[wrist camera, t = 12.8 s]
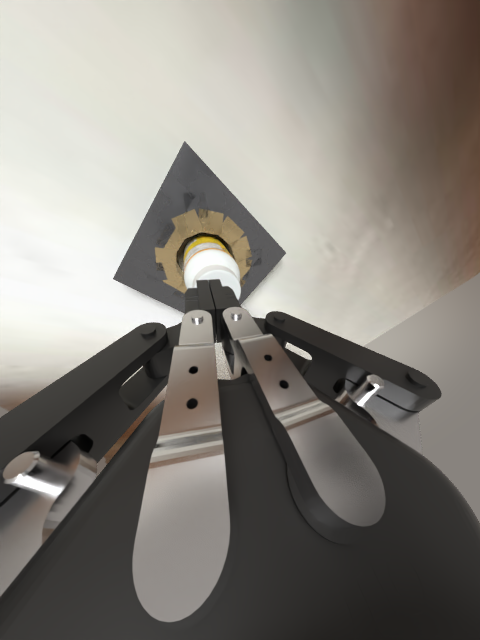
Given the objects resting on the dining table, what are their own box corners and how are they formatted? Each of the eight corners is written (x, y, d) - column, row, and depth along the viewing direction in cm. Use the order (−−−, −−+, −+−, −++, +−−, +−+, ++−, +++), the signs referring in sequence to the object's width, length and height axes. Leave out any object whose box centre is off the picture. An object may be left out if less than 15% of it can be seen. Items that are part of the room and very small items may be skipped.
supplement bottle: (179, 234, 19) (177, 262, 12) (226, 233, 20) (251, 257, 13) (187, 279, 22) (189, 323, 15) (227, 275, 24) (247, 315, 16)
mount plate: (184, 147, 15) (184, 141, 13) (277, 247, 23) (286, 253, 21) (119, 270, 20) (112, 278, 18) (216, 319, 28) (218, 329, 26)
